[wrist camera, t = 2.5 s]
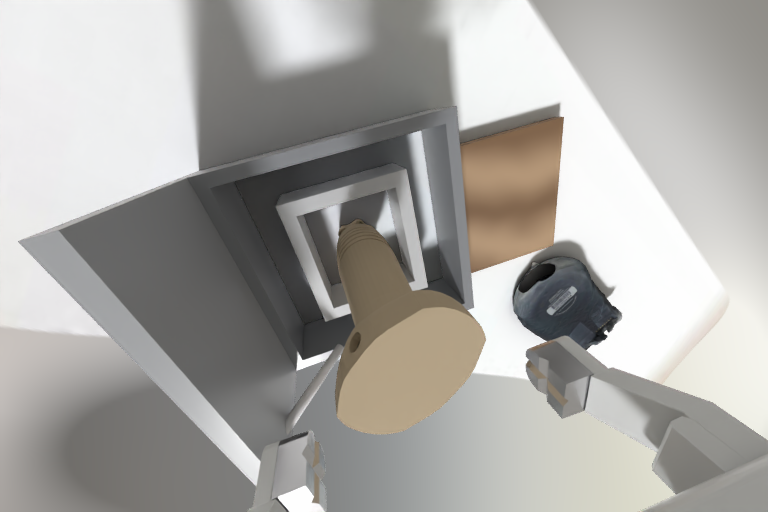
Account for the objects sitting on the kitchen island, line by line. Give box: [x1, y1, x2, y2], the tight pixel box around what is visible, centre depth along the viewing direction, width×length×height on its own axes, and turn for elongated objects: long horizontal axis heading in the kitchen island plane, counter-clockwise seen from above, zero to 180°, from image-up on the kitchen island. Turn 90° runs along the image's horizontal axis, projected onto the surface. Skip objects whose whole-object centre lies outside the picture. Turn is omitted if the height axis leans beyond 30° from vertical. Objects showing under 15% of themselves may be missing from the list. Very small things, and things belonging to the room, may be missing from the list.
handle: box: [335, 219, 486, 434], centre depth 17 cm, size 5×6×15 cm
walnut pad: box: [460, 117, 564, 273], centre depth 25 cm, size 12×10×1 cm
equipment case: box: [18, 106, 474, 486], centre depth 18 cm, size 16×17×13 cm
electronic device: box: [513, 257, 622, 350], centre depth 32 cm, size 9×6×15 cm
